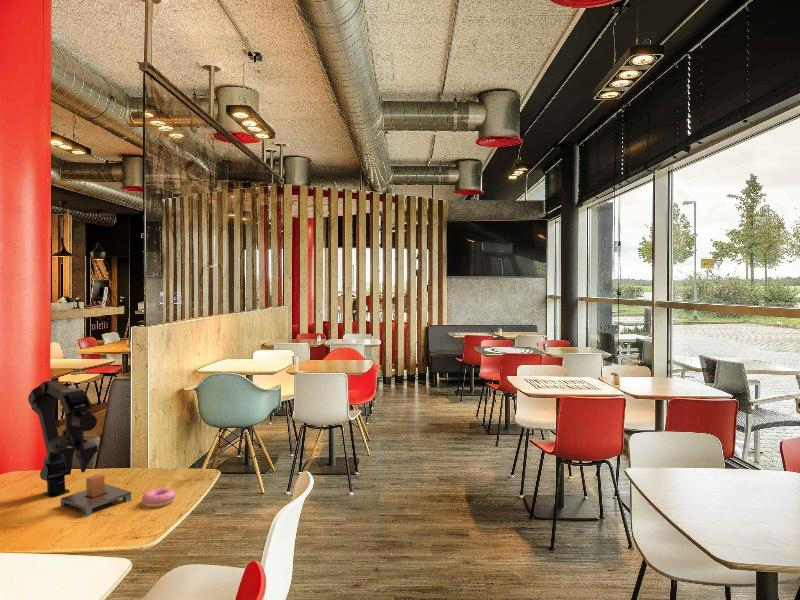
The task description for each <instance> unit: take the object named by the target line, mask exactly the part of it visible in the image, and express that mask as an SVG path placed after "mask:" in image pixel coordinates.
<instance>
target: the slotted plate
mask: <svg viewBox="0 0 800 600" xmlns="http://www.w3.org/2000/svg"><path fill="white" fill-rule="evenodd" d="M120 499H122V502H124V501H125V503H127V502H129V501H130V502H131V501H132V491H130V490H127V489H124V488H120V487H117V486H114V485H111V484H107V483H105V495H103V496H100V497H97V498H94V499H89V498H87V489H85V490H82V491H79V492H76V493H72V494H70V495H67V496H64V497H60V508H63V507H65V508H68V507H70V506H73V507H74V508H75V507H76V508H79V509H80V510H82V516H84V515H85V517H88V516H87V515H89V516H91V515H93V509H94V508H96V507H99V506H102V505H105V504H108V503H111V502H114V501H117V500H120ZM67 506H68V507H67ZM90 514H91V515H90Z"/></svg>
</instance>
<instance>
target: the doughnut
mask: <svg viewBox="0 0 800 600" xmlns="http://www.w3.org/2000/svg"><path fill="white" fill-rule="evenodd" d="M175 499H176V491H175V489H172V488H171V487H158V488H154V489H151V490H148V491H146V492H145V493H144V494H143V495H142V499H141V500H142V504H143V506H145V507H147V508H160V507H164V506H167V505H169V504H171V503H173V502H174V501H175Z"/></svg>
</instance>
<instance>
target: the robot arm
mask: <svg viewBox="0 0 800 600" xmlns="http://www.w3.org/2000/svg"><path fill="white" fill-rule="evenodd" d="M57 399H58V400H59V404H60V405H61V407H62V409H63V410H62V413H64V428H65V429H62V431H61V435H59V431H58V426H57V422H56V418H55V413H54V412H55V411H54V410H55V407H56V405H57ZM27 400H28V403H29V404H30V408H31V410H32V411H33V412H34V413H36V414H37V416H38V418H39V423H40V429H41V432H42V433H41V434H42V436H43V441H44V445H45V449H46V454H45V456H44V458H43V461H42V462H43V466H42V468H41V469H40V472H39V477H40V479H41V480H43V481H46V491H44V492H42V494H43V495H45V496H47V497H50V498H53V497H56V496H57V497H58V496H61V495H63V494H66V493H69V492H70V491H71V490H70V489H67V488H66V477H65V476H69V475H71V473H72V467H73V459H74V456H75V457H76V458H77V459H78V461H79V467H80V473H85V472H86V471H87V469H88V466H89V464H90V462H91V460H92V459H93V457H94V455H95V454H96V453H98V452H99V446H98V445H97V444H95V443H93V442H88V439H86V438H85V432H89V431H92V430H93V429H95V427H96V426H97V424H98V419H97V416H95V415H94V414H92V411H91V410H92V402H91V400H90V398H89V397H88V394H87V393H86V392H85V390H84V389H81V388H70V387H68V386H66V385H64V384H62V383H61V382H59V381H58V380H57V379H52V380H45V381H42V382H41V383H40V384H39V385H38V386H37V387H35V388H34V389H32V390H31V391H30V393H29V394H28V397H27Z"/></svg>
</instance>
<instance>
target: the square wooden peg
mask: <svg viewBox="0 0 800 600" xmlns="http://www.w3.org/2000/svg"><path fill="white" fill-rule="evenodd" d="M85 481H86V482H85V483H86V490H87V498H89V499H94V498H97V497H100V496H103V495H105V484H106V483H105V482H106V480H105V475H103V474H100V473H98V474H94V475H91V476H88V477H85Z"/></svg>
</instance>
